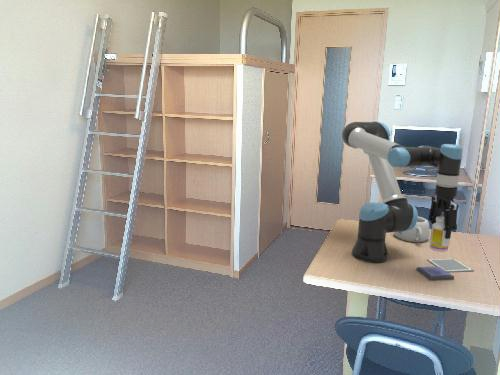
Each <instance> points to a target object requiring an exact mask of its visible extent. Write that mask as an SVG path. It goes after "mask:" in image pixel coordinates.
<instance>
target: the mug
mask: <svg viewBox="0 0 500 375" xmlns="http://www.w3.org/2000/svg"><path fill="white" fill-rule="evenodd" d="M393 233H394V236H396V238H398V239H399V240H402V241H405V242H412V243H422V242H426V241H427V240H429V239H430V238H429V237H430V222H429V219H426V218H424V217H422V216H419V215H418V220H417V222H416V225H415V227H414V228H412V229H411V230H407V231H403V232H401V231H399V232H393Z"/></svg>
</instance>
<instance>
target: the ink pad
mask: <svg viewBox="0 0 500 375" xmlns="http://www.w3.org/2000/svg"><path fill="white" fill-rule="evenodd" d="M415 271H417V272H418V273H420V274H421V275H422V276H424V277H425V278H426V279H428V280H429V281H449V280H454V279H455V276H454V275H453V274H451V272H447V271H445V270H444V269H442V268H441V267H439V266H435V265H434V266H418V267H416V269H415Z"/></svg>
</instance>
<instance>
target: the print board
mask: <svg viewBox="0 0 500 375" xmlns="http://www.w3.org/2000/svg"><path fill="white" fill-rule="evenodd" d="M426 261H427V262H429V263H430V264H432V265H433V266H434V267H435V266H439V267H441V268H442V269H444V270H445V271H447V272H448V273H463V272H464V273H467V272H468V273H469V272H475V270H474V269H472V268H471V267H469V266H467V265H466V264H464V263H463V262H461V261H459V260H458V259H456V258H452V257H451V258H433V259H432V258H431V259H430V258H428V259H426Z"/></svg>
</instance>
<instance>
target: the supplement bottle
mask: <svg viewBox="0 0 500 375" xmlns="http://www.w3.org/2000/svg"><path fill="white" fill-rule="evenodd" d="M431 226H432V232H431V231H430V236H431V240H430V239H429V240H430V241H429V248H430V250H433V251H434V252H439V253H445V252H447V251H448V250H449V246H441V243H442V235H443V229H445V223H444V216H442V215H441V216H438V217H436V223H434V224H433V225H432V224H431Z"/></svg>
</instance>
